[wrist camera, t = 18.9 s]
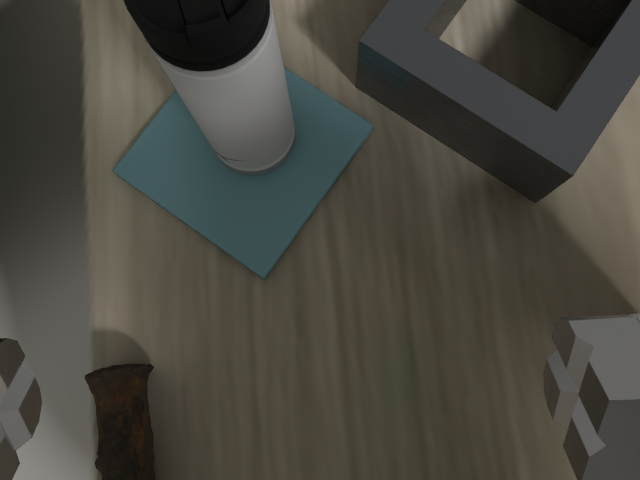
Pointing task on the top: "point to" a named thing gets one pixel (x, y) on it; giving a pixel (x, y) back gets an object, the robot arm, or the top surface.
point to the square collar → (502, 87)
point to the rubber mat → (245, 190)
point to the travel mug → (225, 74)
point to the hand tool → (123, 422)
